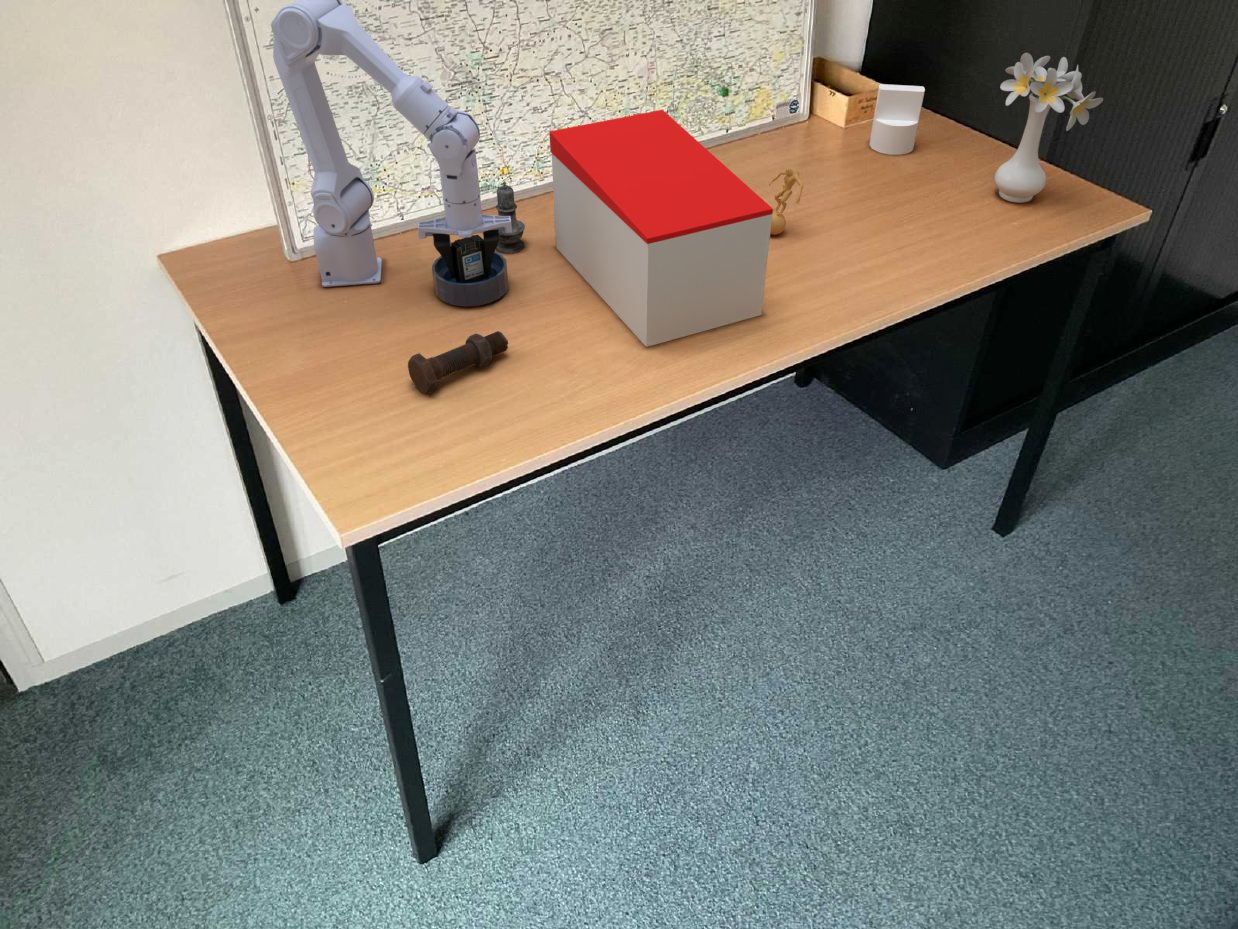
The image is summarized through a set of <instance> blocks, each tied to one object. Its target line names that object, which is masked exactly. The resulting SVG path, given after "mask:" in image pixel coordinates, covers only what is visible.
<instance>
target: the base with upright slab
mask: <svg viewBox="0 0 1238 929" xmlns="http://www.w3.org/2000/svg"><path fill="white" fill-rule="evenodd" d="M925 91H926V89H925V87H924V86H922V85H921V86H920V85H907V84H906V85H903V84H886V83H880V84H879V85H878V90H877V96H876V103H875V108H874V113H873V120H872V126H871V131H870V138H869V143H868V144H869V147H870V148H871V149H872V150H874V151H875V152H878V153H880V154H884V155H890V156H898V155H899V156H900V155H901V156H902V155H906V154H909V153H911V152H913V151H914V148H915V147H914V146H915V142H916V136H917V132H918V126H919V123H920V117H921V111H922V106H923V101H924V96H925Z"/></svg>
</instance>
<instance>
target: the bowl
mask: <svg viewBox="0 0 1238 929" xmlns="http://www.w3.org/2000/svg"><path fill="white" fill-rule="evenodd" d="M431 274H432V275H431V276H432V281H433V288H434V293H435V296H437V298H438V299H439V300H441V301H442V302H444V303H446V304H448V305H449V304H450V305H453V306H457V307H476V306H483V305H487V304H491V303H493V302H494V301H497V300H499V299H501V298H502V297H503V296H504V295H505V294H506V293H507V292H508V289H509V273H508V264H507V259H506V257H504V255H503V254H501V252H500V253H499V251H497V250H495V253H494V255H493V259H492V263H491V269H490V275H488V276H489V279H487V280H484V281H480V282H476V283H456V278H451V275H450V272H449V269H448V267H447V265H446V263H445V261H444V259H443V258H442V256H441V255H439V257H437V258H436V259H435V260H434V262H433V263H432V265H431Z"/></svg>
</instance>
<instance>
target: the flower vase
mask: <svg viewBox="0 0 1238 929" xmlns="http://www.w3.org/2000/svg"><path fill="white" fill-rule="evenodd" d="M1050 60H1051V56H1050V55H1045V56H1042V57H1040V58H1038V59H1037V60H1036V61H1035V62H1034V59H1033V56H1032V55H1031V54H1030V53H1029V52H1024V53H1023V54H1022V55H1021V56H1020V61H1017V62H1015V64H1014V66H1008V67H1007V68H1005V70H1004V71H1005V73H1007V74H1008V75H1009V74H1010V75H1013V76H1014V79H1007V80H1004V81H1003V82H1001V83H1000V87H999V88H1000V90H1001V91H1004V92H1010V93H1009V94H1008V96H1007V97H1006V99H1005V106H1007V107H1008V106H1010V105H1012V103H1014V101H1016V99H1018V97H1020V96H1021V97H1027V96H1028V95H1029V96H1028V99H1029V108H1028V115H1027V120H1026V124H1025V127H1024V130H1023V133H1022V136H1021V140H1020V142H1019V145H1018V147H1017V149H1016V150H1015V153H1013V155H1012V156H1011V157H1010V158H1009V159H1008V160H1006V161H1005V162H1004V163H1002V164H1001V165H999V166H998V168H997V169H996V171H995V173H994V175H993V182H994V185H995V187H996V188H997V190H998V195H999V197H1000V198H1002V199H1003V200H1005V201H1008V202H1010V203H1016V204H1023V203H1027V202H1030V201H1032V200H1033V198H1034V196H1036V195H1038V194H1039V193H1040V192H1042V191H1043V190H1044V188H1045V187H1046V184H1047V174H1046V171H1045V169H1044V168H1043V167H1042V165H1041V163H1040V160H1039V148H1040V142H1041V138H1042V134H1043V130H1044V125H1045V123H1046V120H1047V116H1048V114H1049V112H1050V109H1053V110H1054V111H1055V112H1056V113H1060V114H1061V113H1064V111H1065V110H1066V108H1065V104H1064V102H1063V100H1066V101H1067V102H1070V104H1072V108H1071V110H1070V112H1069V115H1070V116H1069V119H1068V122H1067V124H1066V128H1065V131H1066V132H1068V131H1069V130H1071V129H1072V128H1073V127H1074V125H1075V124H1076V123H1077V122H1076V121H1078V123H1079V124H1080V125H1082V126H1085V125H1086V124H1088V122H1089V120H1090V112H1089V111H1088V110H1091V109H1094V108H1096V107H1097V106H1098V107H1099V105H1100V104H1102V102H1103V101H1104V98H1103V97H1097V98H1094V97H1095V96H1096V93H1097V91H1096V90H1094V91H1092V92H1090V93H1089V94H1088V95H1087V96H1084V95H1083V83H1082V80H1081V79H1082V78H1083V75H1082V72H1080V71H1079V64H1077V66H1076V69H1075V70H1073V71H1069V72H1067V71H1068V68H1069V62H1068V60H1067V57H1065V56H1062V57H1061V58H1060V60H1059V62H1058V66H1057V69H1056V68H1053V67H1049V68H1048V69H1047V70H1046V69H1045V65H1047V64H1048V63H1049V61H1050ZM1030 91H1031V93H1030ZM1062 99H1063V100H1062ZM1075 99H1076V100H1077V101H1075Z"/></svg>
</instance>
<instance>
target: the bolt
mask: <svg viewBox="0 0 1238 929" xmlns="http://www.w3.org/2000/svg"><path fill="white" fill-rule="evenodd" d="M508 349H509V340H508V338H507V337H506V336H505V335H504V334H503V332H502V331H499V330H497V331H494V332H491V333H490V334H487V335H485V336H483V335H482V334H479V333H473V334H470V336H468V337H467V338H466V340H465V343H464V344H463V345H460V346H458V347H455V348H453V349H450V350H448V351H446V352H443V353H440V354H438V355H435V356H431V357H429V358H426V357H425V356H423V355H422V354H421V353H420V352H418V353H415V354H413V355H411V357H409V360H408V361H407V368H408V369H407V370H408V374H409V377H410V379H411V381H412V383H413V385H414V386H415V387H416V389H417V390H418V391H419V392H421V393H423V394H426V395H428V394H430V393H433V392H434V391H435V389H436V386H437V384H438V381H440V380H442V379H444V378H445V377H447V376H450V375H452V374H454V373H457V372H459V371H463V370H464V369H466V368H469V367H471V366H475V367H477V368H480V369H482V368H485V367H487V366H488V365H490V363H491V361H492V360H493V357H495V356H497V355H500V354H502V353H504V352H506V351H507V350H508Z"/></svg>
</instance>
